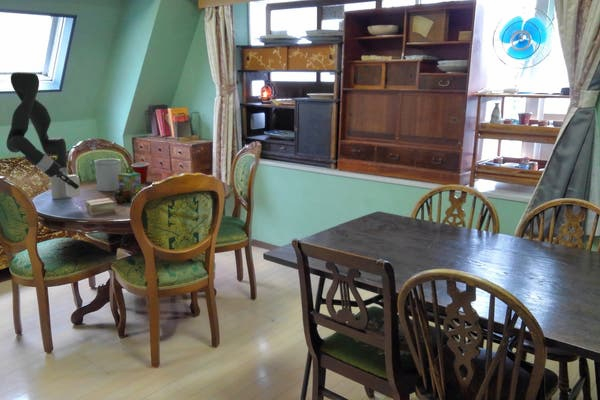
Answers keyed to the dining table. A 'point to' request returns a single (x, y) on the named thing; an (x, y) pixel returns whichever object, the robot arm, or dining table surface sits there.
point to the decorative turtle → (123, 195)
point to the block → (100, 206)
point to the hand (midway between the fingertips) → (76, 186)
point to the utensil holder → (107, 173)
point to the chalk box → (130, 181)
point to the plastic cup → (141, 170)
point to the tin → (71, 190)
